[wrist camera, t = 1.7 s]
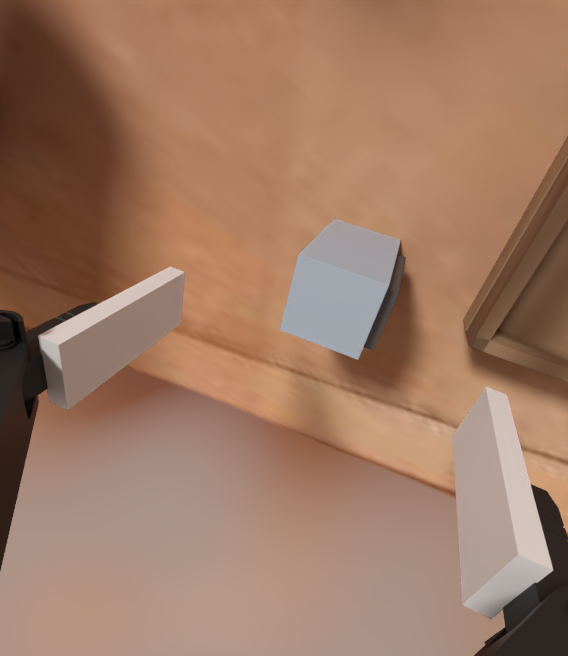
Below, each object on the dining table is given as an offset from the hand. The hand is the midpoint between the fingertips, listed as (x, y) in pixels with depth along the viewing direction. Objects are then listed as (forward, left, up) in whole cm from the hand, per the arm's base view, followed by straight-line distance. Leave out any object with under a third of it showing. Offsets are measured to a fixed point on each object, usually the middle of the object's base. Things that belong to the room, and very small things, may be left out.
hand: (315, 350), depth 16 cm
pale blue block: (0, 0, -12) cm, 12 cm away
